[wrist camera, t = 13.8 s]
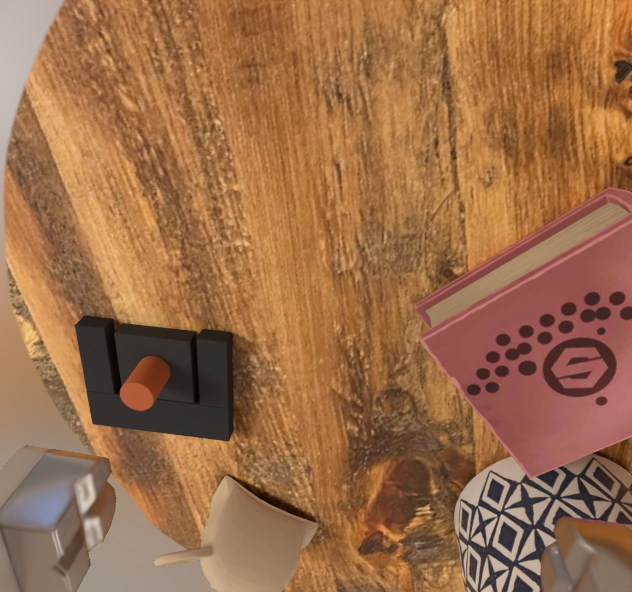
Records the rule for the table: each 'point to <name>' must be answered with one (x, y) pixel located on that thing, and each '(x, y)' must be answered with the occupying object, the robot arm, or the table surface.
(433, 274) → the table surface
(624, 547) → the robot arm
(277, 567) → the decorative ornament
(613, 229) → the book
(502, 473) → the planter
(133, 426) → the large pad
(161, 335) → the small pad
